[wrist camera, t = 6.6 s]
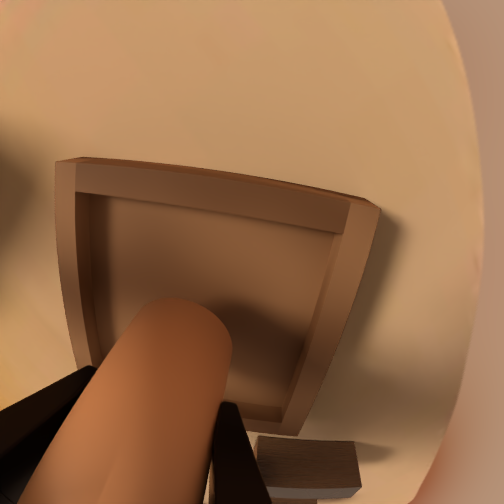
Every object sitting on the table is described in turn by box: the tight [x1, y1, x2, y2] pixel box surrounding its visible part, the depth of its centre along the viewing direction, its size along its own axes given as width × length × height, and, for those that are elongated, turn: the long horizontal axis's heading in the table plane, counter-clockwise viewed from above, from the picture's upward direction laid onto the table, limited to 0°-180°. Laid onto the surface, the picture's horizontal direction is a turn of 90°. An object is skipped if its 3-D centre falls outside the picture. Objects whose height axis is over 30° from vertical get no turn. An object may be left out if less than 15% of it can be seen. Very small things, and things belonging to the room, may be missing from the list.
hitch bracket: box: [253, 436, 362, 504], centre depth 15 cm, size 9×6×4 cm, turn 171°
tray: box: [55, 157, 381, 436], centre depth 11 cm, size 11×11×2 cm
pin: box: [17, 298, 233, 504], centre depth 6 cm, size 5×5×9 cm
